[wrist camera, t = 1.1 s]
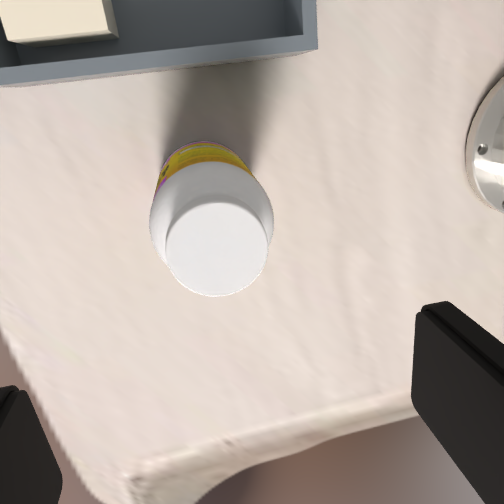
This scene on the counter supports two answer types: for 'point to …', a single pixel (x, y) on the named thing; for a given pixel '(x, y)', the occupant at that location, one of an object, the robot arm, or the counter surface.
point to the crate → (169, 40)
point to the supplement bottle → (210, 219)
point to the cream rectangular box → (57, 21)
